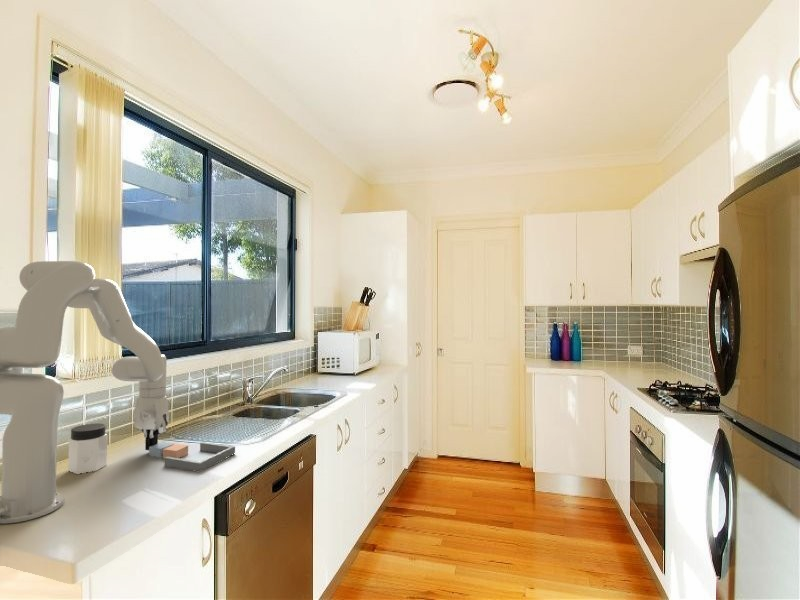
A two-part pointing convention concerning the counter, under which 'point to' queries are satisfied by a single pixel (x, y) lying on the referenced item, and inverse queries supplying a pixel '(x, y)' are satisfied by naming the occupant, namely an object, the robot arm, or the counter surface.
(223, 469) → the counter surface
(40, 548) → the counter surface
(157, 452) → the tile
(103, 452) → the jar
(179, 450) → the tile
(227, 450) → the tray
